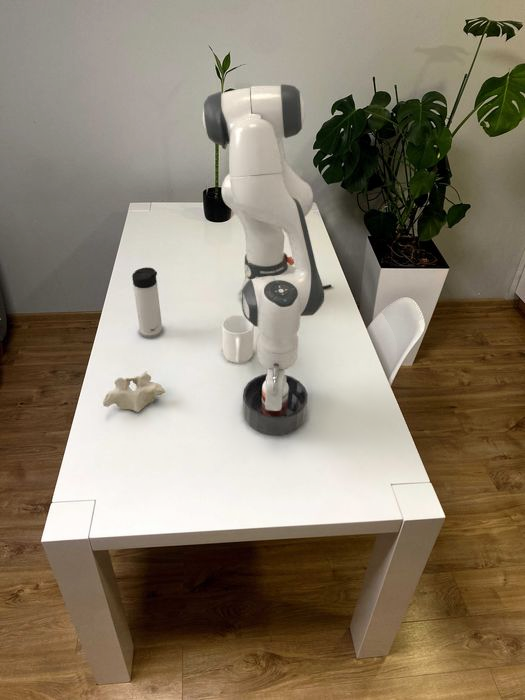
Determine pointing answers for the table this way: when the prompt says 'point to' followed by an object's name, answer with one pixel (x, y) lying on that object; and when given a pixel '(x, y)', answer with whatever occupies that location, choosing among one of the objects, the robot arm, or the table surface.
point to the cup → (237, 338)
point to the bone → (133, 393)
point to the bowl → (274, 424)
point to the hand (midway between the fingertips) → (274, 395)
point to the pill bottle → (284, 401)
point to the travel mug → (147, 302)
